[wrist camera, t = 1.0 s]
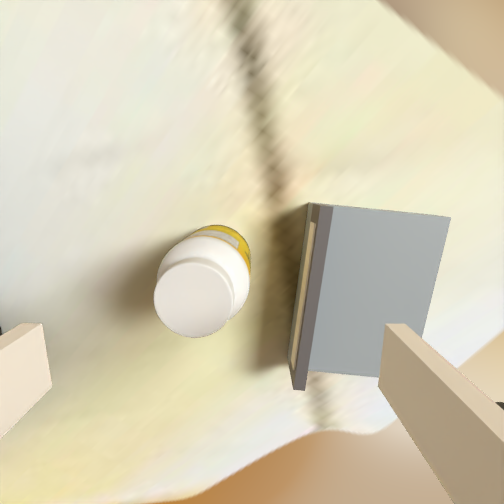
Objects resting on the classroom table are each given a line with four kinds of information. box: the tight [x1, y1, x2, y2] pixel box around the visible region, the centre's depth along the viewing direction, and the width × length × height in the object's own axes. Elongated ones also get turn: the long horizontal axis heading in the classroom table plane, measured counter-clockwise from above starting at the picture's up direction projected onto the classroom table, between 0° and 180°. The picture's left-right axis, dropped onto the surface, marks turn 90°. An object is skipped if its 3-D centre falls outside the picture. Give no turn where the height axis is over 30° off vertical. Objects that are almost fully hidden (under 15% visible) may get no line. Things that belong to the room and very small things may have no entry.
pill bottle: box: [153, 225, 251, 338], centre depth 23 cm, size 6×6×12 cm
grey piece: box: [287, 203, 451, 391], centre depth 26 cm, size 12×16×5 cm
